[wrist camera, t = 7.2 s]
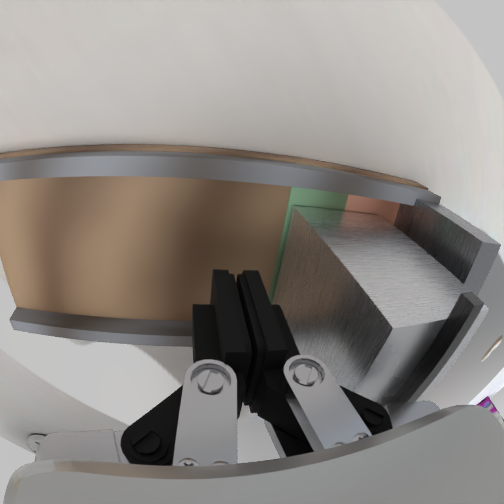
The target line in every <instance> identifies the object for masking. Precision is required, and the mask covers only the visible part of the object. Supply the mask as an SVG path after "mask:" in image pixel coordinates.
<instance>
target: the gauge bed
mask: <svg viewBox="0 0 504 504" xmlns="http://www.w3.org/2000/svg"><path fill="white" fill-rule="evenodd" d="M416 199H420V200H424V201H429V202H433V203H437V204H439V203H440V199H441V197H440V196H438V195H436V194H434V193H432V192H430V191H429V190H428V188H426V187H424V186H423V185H421V184H419V183H417V182H414V181H410V180H406V179H402V178H398V177H394V176H390V175H386V174H382V173H377V172H373V171H368V170H364V169H359V168H354V167H349V166H344V165H339V164H334V163H328V162H323V161H317V160H311V159H305V158H298V157H292V156H285V155H278V154H270V153H262V152H253V151H244V150H234V149H223V148H211V147H196V146H178V145H144V144H115V145H83V146H66V147H52V148H41V149H31V150H22V151H15V152H7V153H0V257H1V260H2V264H3V268H4V271H5V274H6V278H7V281H8V284H9V287H10V290H11V293H12V296H13V298H14V301H15V304H16V306H17V308H16V310H15V311H14V313H13V314H12V316H11V318H10V322H11V324H12V327H13V329H14V330H19V331H24V332H29V333H36V334H42V335H48V336H55V337H63V338H70V339H79V340H88V341H98V342H109V343H122V344H136V345H155V346H190V347H193V344H192V305H193V304H210V298H211V285H212V273H213V269H221V270H228V271H229V274H234V276H235V281H236V279H237V274H242V272H243V270H258V271H259V273H260V276H261V279H262V281H263V284H264V287H265V289H266V292H267V295H268V297H269V300H270V303H271V304H272V301H273V297H274V292H275V288H276V283H277V279H278V275H279V270H280V266H281V261H282V257H283V252H284V247H285V243H286V238H287V233H288V229H289V224H290V219H291V214H292V210H293V206H302V207H312V208H322V209H331V210H340V211H348V212H356V213H364V214H372V215H379V216H382V217H383V218H384V219H386V220H387V221H388V222H390V223H391V224H392V225H394V222H395V219H396V215H397V212H398V209H399V206H400V203H402V204H407V205H413V206H414V204H415V201H416Z"/></svg>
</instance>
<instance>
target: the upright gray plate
mask: <svg viewBox="0 0 504 504" xmlns="http://www.w3.org/2000/svg"><path fill="white" fill-rule="evenodd" d="M394 226H395V227H396V228H397V229H399V230H400V231H401V232H403V233H404V234H405V235H406V236H408V237H409V238H410V239H411V240H413V241H414V242H415V243H416V244H418V245H419V246H420V247H421V248H422V249H424V250H425V251H426V252H427V253H429V254H430V255H431V256H432V257H433V258H434V259H436V260H437V261H438V262H439V263H440V264H441V265H443V266H444V267H445V268H446V269H447V270H448V271H449V272H450V273H452V274H453V275H454V276H455V277H456V278H457V279H458V280H459V281H460V282H462V283H463V284H464V285H465V286H466V287H467V288H468V289H469V290H470V291H472V292H473V293H474V294H475V295H476V296H477V295H478V293H479V291H480V289H481V288H482V286H483V283H484V281H485V279H486V277H487V275H488V273H489V271H490V269H491V267H492V264H493V262H494V260H495V258H496V255H497V253H498V251H499V248H500V246H501V244H499V243H498V242H497V241H495V240H494V239H492V238H491V237H490V236H488V235H487V234H485V233H484V232H482V231H481V230H479V229H478V228H476V227H475V226H473V225H472V224H470V223H469V222H467V221H466V220H464V219H463V218H461V217H460V216H458V215H456V214H455V213H453V212H452V211H450V210H448V209H447V208H445V207H443V206H442V205H440V204H437V203H433V202H429V201H424V200H420V199H416V201H415V204H414V206H413V205H407V204H402V203H400V206H399V209H398V212H397V215H396V219H395V222H394Z"/></svg>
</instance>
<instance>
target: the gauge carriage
mask: <svg viewBox="0 0 504 504" xmlns="http://www.w3.org/2000/svg"><path fill="white" fill-rule="evenodd" d="M272 304H278V305H280V307H281V308H282V311H283V313H284V316H285V318H286V321H287V323H288V326H289V328H290V331H291V333H292V336H293V338H294V340H295V343H296V345H297V348H298V350H299V353H300V355H309V356H313V357H315V358H318V359H319V360H321V361H322V362H323V363H324V364H325V365H326V366H327V368H328V369H329V371H330V372H331V374H332V375H333V377H334V378H335V380H336V381H337V383H338V384H339V385H340V386H342V387H344V388H346V389H349V390H351V391H353V392H355V393H357V394H359V395H361V396H363V397H366V398H368V399H370V400H372V401H374V402H376V403H378V404H380V405H382V406H385V405H386V404H391V403H405V402H415V401H424V400H425V398H426V397H427V396H428V395H429V394H430V393H431V392H432V390H433V389H434V388H435V387H436V386H437V384H438V383H439V382H440V381H441V379H442V378H443V377H444V376H445V374H446V373H447V372H448V370H449V369H450V368H451V367H452V365H453V364H454V363H455V361H456V360H457V358H458V357H459V356H460V354H461V353H462V351H463V350H464V349H465V347H466V346H467V344H468V343H469V341H470V340H471V338H472V337H473V335H474V334H475V332H476V331H477V329H478V327H479V326H480V324H481V322H482V321H483V319H484V317H485V316H486V314H487V312H488V311H489V309H488V307H486V306H485V304H484V303H483V302H482V301H481V300H480V299H479V298H478V297H477V296H476V295H475V294H474V293H473V292H472V291H470V290H469V289H468V288H467V287H466V286H465V285H464V284H463V283H462V282H460V281H459V280H458V279H457V278H456V277H455V276H454V275H453V274H452V273H450V272H449V271H448V270H447V269H446V268H445V267H444V266H443V265H441V264H440V263H439V262H438V261H437V260H436V259H434V258H433V257H432V256H431V255H430V254H429V253H427V252H426V251H425V250H424V249H422V248H421V247H420V246H419V245H418V244H416V243H415V242H414V241H413V240H411V239H410V238H409V237H408V236H406V235H405V234H404V233H403V232H401V231H400V230H399V229H397V228H396V227H395V226H394V225H392V224H391V223H390V222H388V221H387V220H386V219H384V218H383V217H382V216H379V215H372V214H364V213H356V212H348V211H340V210H331V209H322V208H312V207H302V206H293V210H292V214H291V219H290V224H289V229H288V233H287V238H286V243H285V247H284V252H283V257H282V261H281V266H280V270H279V275H278V279H277V283H276V288H275V292H274V297H273V301H272Z"/></svg>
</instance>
